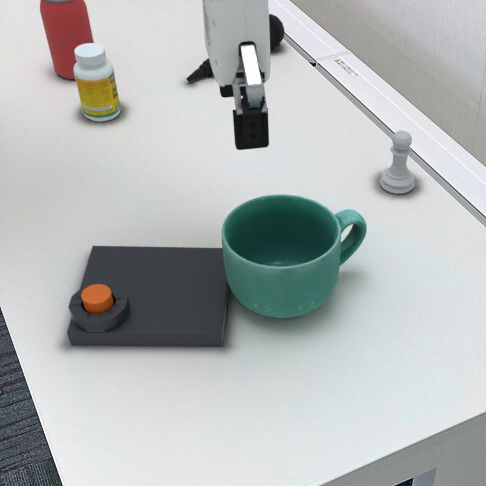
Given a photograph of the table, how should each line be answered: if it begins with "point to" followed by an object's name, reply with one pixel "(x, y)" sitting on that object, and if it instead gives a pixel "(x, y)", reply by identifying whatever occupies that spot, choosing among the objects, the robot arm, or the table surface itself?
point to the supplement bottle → (96, 83)
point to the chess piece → (399, 166)
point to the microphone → (275, 39)
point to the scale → (154, 297)
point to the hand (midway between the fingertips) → (243, 120)
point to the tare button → (97, 298)
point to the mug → (287, 252)
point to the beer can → (65, 32)
